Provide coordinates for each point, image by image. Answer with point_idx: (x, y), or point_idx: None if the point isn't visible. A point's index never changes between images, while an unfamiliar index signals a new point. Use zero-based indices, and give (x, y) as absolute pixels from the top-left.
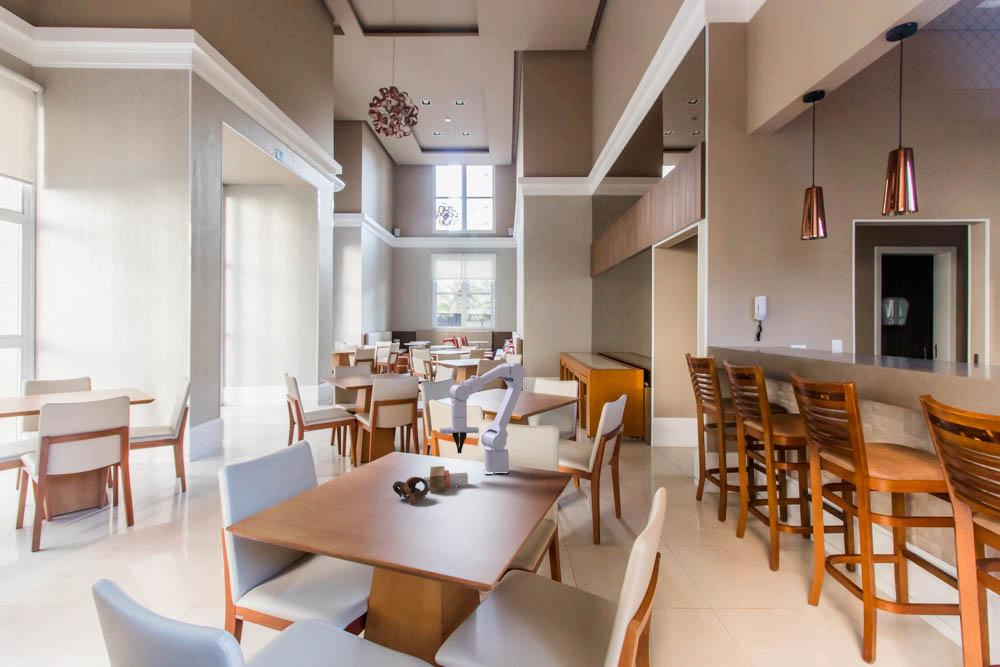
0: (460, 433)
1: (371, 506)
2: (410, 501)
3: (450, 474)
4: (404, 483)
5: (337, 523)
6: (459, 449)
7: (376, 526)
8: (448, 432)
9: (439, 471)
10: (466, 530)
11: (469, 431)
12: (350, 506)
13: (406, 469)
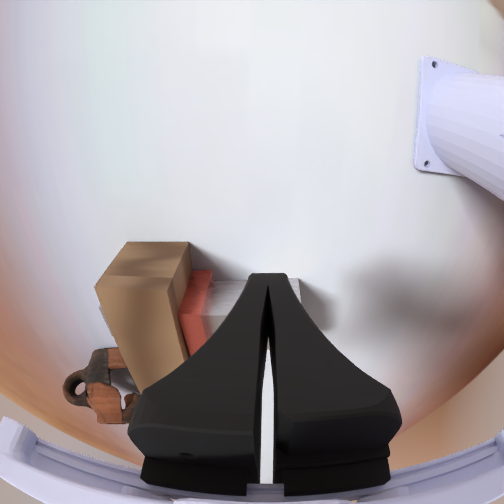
0: (282, 489)
1: (60, 378)
2: (131, 401)
3: (215, 327)
4: (91, 408)
5: (60, 411)
6: (266, 348)
7: (119, 436)
8: (103, 481)
9: (162, 363)
10: (262, 465)
11: (420, 487)
12: (27, 365)
13: (5, 37)
